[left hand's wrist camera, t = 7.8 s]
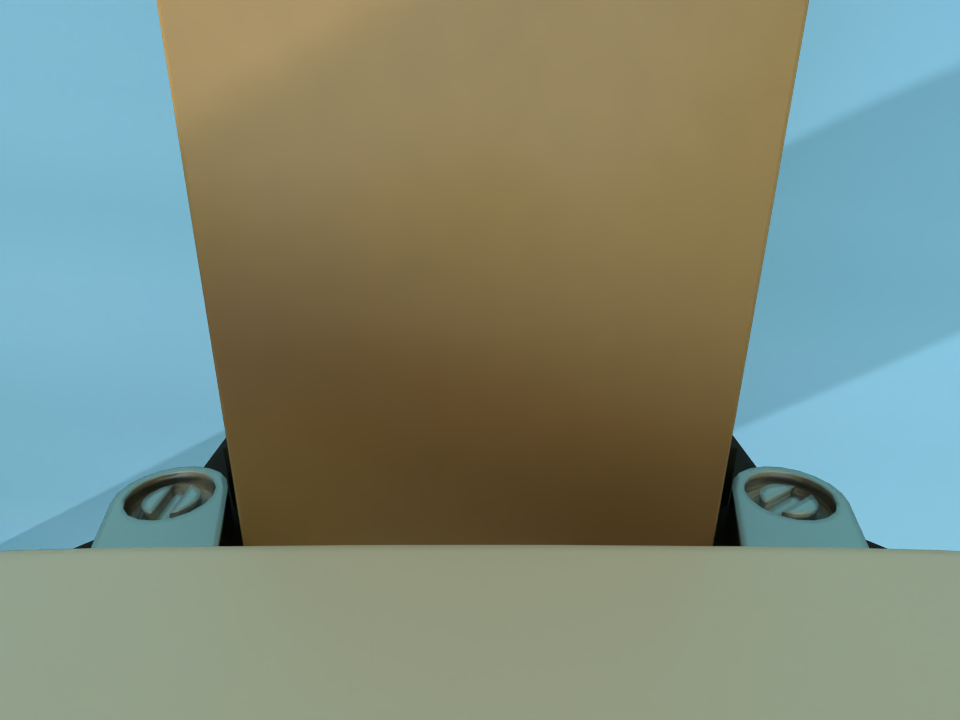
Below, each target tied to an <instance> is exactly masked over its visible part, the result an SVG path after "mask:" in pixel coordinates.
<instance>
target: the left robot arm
mask: <svg viewBox="0 0 960 720" xmlns="http://www.w3.org/2000/svg"><path fill="white" fill-rule="evenodd" d="M0 720H960V551H945V550H911V549H887V548H884V547H882V546H879V545H877V544H875V543H872V542H870V541H867V540H865V537H864V535H863V533H862V531H861V528H860V526H859V524H858V522H857V519H856V517H855V515H854V513H853V511H852V508H851V506H850V504H849V502H848V501H847V499H846V498H845V497H844V495H843V494H842V493H841V492H840V491H838V490H837V489H836V488H835V487H833V486H832V485H831V484H829V483H827V482H825V481H823V480H821V479H819V478H817V477H815V476H812V475H809V474H806V473H803V472H801V471H797V470H792V469H787V468H782V467H756V466H755V465H754V463H753V462H752V461H751V459H750V458H749V456H748V455H747V454H746V452H745V451H744V450H743V448H742V447H741V446H740V444H739V443H738V442H737V440H736V439H735V438H734V436H733V435H732V440H731V445H730V451H729V457H728V462H727V468H726V474H725V479H724V485H723V491H722V497H721V502H720V508H719V514H718V519H717V525H716V531H715V536H714V542H713V546H629V545H310V546H243V539H242V533H241V527H240V521H239V514H238V508H237V502H236V496H235V489H234V483H233V477H232V470H231V464H230V458H229V452H228V445H227V439H226V438H225V440H224V441H223V442H222V444H221V445H220V446H219V448H218V449H217V450H216V452H215V453H214V454H213V456H212V457H211V458H210V460H209V461H208V462H207V464H206V465H205V466H204V467H178V468H173V469H168V470H163V471H159V472H157V473H154V474H151V475H148V476H145V477H143V478H141V479H139V480H137V481H135V482H133V483H131V484H129V485H128V486H127V487H125V488H124V489H123V490H122V491H120V492H119V493H118V494H117V495H116V497H115V498H114V499H113V501H112V502H111V504H110V506H109V508H108V511H107V513H106V515H105V517H104V519H103V522H102V524H101V526H100V528H99V531H98V533H97V535H96V537H95V540H93V541H91V542H88V543H86V544H83V545H81V546H78V547H76V548H74V549H51V550H17V551H0Z"/></svg>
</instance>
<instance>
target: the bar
mask: <svg viewBox="0 0 960 720" xmlns="http://www.w3.org/2000/svg"><path fill="white" fill-rule="evenodd" d="M808 3H809V0H157V6H158V13H159V19H160V25H161V31H162V38H163V44H164V50H165V56H166V63H167V69H168V75H169V82H170V88H171V94H172V100H173V107H174V113H175V119H176V125H177V132H178V138H179V144H180V151H181V157H182V163H183V169H184V176H185V182H186V188H187V194H188V201H189V207H190V213H191V220H192V226H193V232H194V238H195V245H196V251H197V257H198V263H199V270H200V276H201V282H202V289H203V295H204V301H205V307H206V314H207V320H208V326H209V332H210V339H211V345H212V351H213V358H214V364H215V370H216V376H217V383H218V389H219V395H220V401H221V408H222V414H223V420H224V427H225V433H226V439H227V445H228V452H229V458H230V464H231V470H232V477H233V483H234V489H235V496H236V502H237V508H238V514H239V521H240V527H241V533H242V539H243V546H310V545H629V546H713V542H714V536H715V531H716V525H717V519H718V514H719V508H720V502H721V497H722V491H723V485H724V479H725V474H726V468H727V462H728V457H729V451H730V445H731V440H732V434H733V428H734V423H735V417H736V411H737V406H738V400H739V394H740V389H741V383H742V377H743V372H744V366H745V360H746V355H747V349H748V343H749V338H750V332H751V326H752V321H753V315H754V309H755V304H756V298H757V292H758V287H759V281H760V275H761V270H762V264H763V258H764V253H765V247H766V241H767V236H768V230H769V224H770V219H771V213H772V207H773V202H774V196H775V190H776V185H777V179H778V173H779V168H780V162H781V156H782V151H783V145H784V139H785V134H786V128H787V122H788V117H789V111H790V105H791V100H792V94H793V88H794V83H795V77H796V71H797V66H798V60H799V54H800V49H801V43H802V37H803V32H804V26H805V20H806V15H807V9H808Z"/></svg>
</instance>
